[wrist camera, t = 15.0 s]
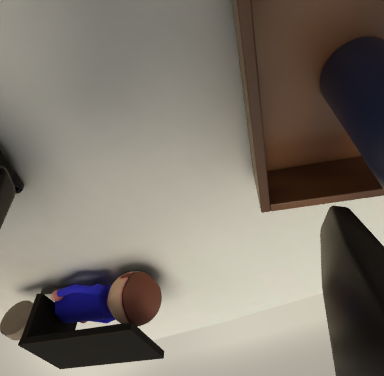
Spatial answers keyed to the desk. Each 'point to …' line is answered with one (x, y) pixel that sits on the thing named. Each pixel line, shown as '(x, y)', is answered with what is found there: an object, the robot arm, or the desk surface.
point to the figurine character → (88, 311)
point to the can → (359, 96)
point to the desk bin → (300, 99)
